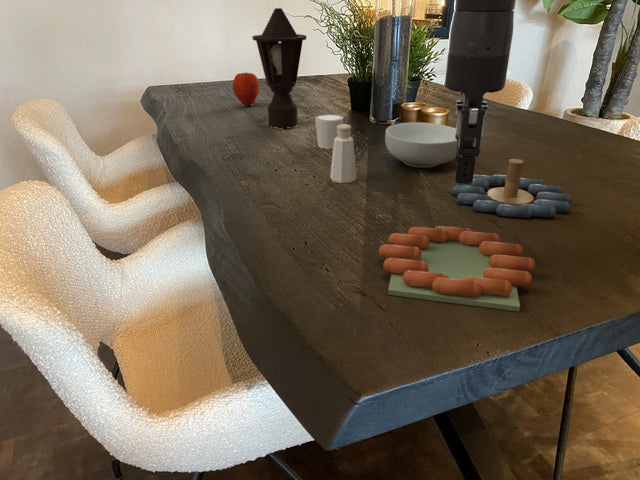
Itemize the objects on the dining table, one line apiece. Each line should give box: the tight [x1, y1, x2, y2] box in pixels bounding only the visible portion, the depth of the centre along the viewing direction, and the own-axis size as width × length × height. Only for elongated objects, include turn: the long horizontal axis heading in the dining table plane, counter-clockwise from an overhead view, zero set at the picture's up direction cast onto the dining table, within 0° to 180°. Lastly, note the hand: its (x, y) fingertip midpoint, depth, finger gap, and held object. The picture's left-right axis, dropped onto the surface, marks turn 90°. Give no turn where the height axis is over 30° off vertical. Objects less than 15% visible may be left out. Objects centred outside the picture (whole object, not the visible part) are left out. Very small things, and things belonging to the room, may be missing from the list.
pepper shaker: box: [329, 123, 357, 184], centre depth 98 cm, size 5×5×11 cm
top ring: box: [378, 225, 536, 297], centre depth 68 cm, size 21×17×2 cm
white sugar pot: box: [314, 114, 344, 150], centre depth 119 cm, size 7×7×7 cm
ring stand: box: [486, 158, 534, 206], centre depth 88 cm, size 8×8×8 cm
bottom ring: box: [450, 174, 573, 219], centre depth 89 cm, size 21×17×2 cm
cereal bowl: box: [384, 121, 458, 169], centre depth 107 cm, size 17×17×7 cm
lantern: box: [251, 7, 307, 128], centre depth 131 cm, size 15×15×30 cm
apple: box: [232, 71, 260, 106], centre depth 158 cm, size 9×8×11 cm
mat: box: [387, 240, 521, 313], centre depth 68 cm, size 16×16×1 cm
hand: (463, 172), depth 69 cm, fingers open, 8 cm apart
